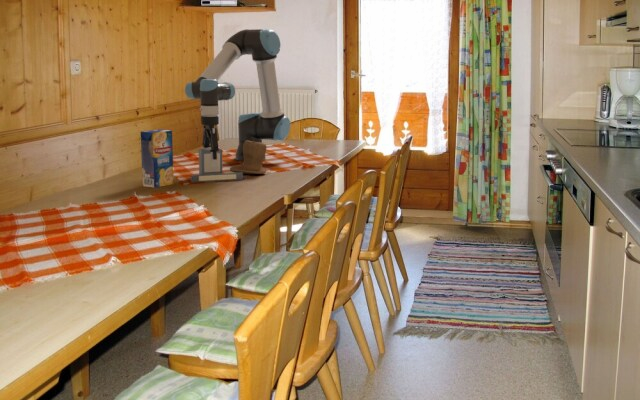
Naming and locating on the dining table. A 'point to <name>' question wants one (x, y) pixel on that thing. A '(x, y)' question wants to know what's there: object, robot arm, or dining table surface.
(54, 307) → the dining table surface
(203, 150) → the slate carton
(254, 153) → the brown piece
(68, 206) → the dining table surface
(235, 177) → the rail
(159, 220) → the dining table surface
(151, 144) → the blue food box
